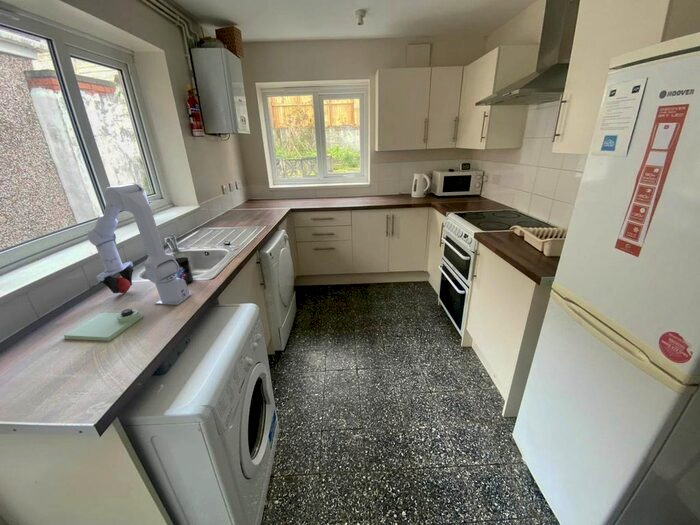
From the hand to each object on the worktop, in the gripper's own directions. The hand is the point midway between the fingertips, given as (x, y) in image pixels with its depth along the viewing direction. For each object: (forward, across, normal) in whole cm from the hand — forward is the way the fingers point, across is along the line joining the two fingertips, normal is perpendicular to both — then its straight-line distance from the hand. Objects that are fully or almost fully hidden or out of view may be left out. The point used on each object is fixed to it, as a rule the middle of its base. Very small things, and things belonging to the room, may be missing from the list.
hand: (122, 289), depth 118 cm
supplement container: (+2, -11, +20) cm, 23 cm away
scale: (+2, +23, +15) cm, 28 cm away
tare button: (-1, +19, +21) cm, 28 cm away
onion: (+2, 0, 0) cm, 2 cm away
